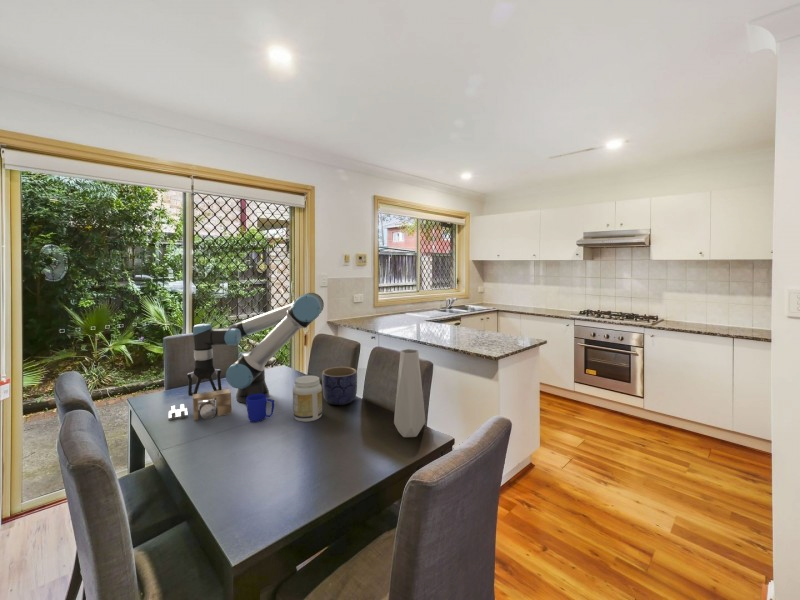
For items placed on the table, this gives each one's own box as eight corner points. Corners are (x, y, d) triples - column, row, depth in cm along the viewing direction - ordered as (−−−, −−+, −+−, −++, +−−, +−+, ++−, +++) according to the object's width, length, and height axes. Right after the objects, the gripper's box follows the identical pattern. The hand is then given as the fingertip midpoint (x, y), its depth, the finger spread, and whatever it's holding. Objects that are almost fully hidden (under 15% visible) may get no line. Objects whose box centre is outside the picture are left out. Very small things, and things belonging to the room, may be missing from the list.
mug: (269, 425, 154) (268, 401, 153) (242, 422, 156) (241, 399, 155) (279, 417, 162) (278, 394, 161) (254, 415, 164) (253, 392, 163)
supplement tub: (312, 409, 171) (312, 372, 169) (327, 417, 162) (327, 378, 161) (288, 416, 162) (287, 378, 161) (302, 425, 154) (301, 385, 152)
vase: (388, 429, 150) (388, 349, 147) (414, 425, 154) (415, 346, 151) (400, 443, 139) (400, 356, 136) (428, 437, 143) (429, 353, 140)
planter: (364, 399, 183) (364, 369, 182) (341, 410, 169) (341, 378, 168) (338, 393, 192) (338, 364, 191) (315, 403, 178) (314, 372, 177)
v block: (186, 410, 169) (186, 403, 169) (187, 416, 162) (187, 410, 161) (168, 413, 166) (168, 406, 165) (168, 420, 158) (168, 413, 158)
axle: (212, 406, 174) (212, 393, 173) (216, 417, 161) (215, 404, 161) (198, 408, 171) (197, 396, 170) (200, 420, 158) (200, 406, 157)
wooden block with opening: (229, 408, 171) (229, 388, 170) (231, 413, 166) (230, 392, 165) (193, 415, 163) (192, 394, 162) (194, 420, 158) (193, 398, 157)
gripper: (225, 354, 177) (227, 401, 179) (179, 359, 167) (181, 409, 169) (227, 357, 170) (229, 406, 172) (179, 363, 160) (182, 415, 162)
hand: (205, 407), depth 171 cm, fingers closed on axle, 6 cm apart
